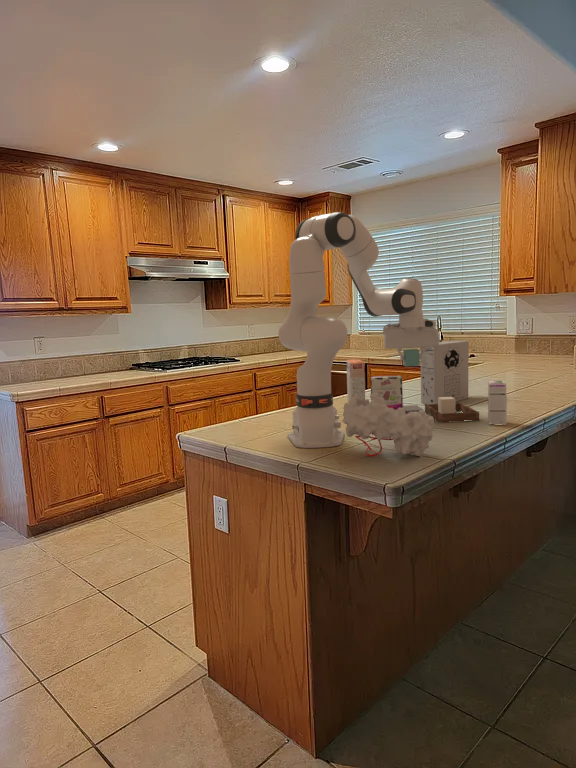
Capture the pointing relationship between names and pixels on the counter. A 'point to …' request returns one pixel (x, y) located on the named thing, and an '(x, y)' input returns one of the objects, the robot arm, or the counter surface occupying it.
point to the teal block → (411, 357)
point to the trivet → (412, 408)
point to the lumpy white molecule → (388, 424)
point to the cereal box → (444, 372)
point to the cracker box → (355, 379)
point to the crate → (446, 417)
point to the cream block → (446, 405)
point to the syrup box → (497, 402)
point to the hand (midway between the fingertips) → (411, 359)
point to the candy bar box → (388, 390)
